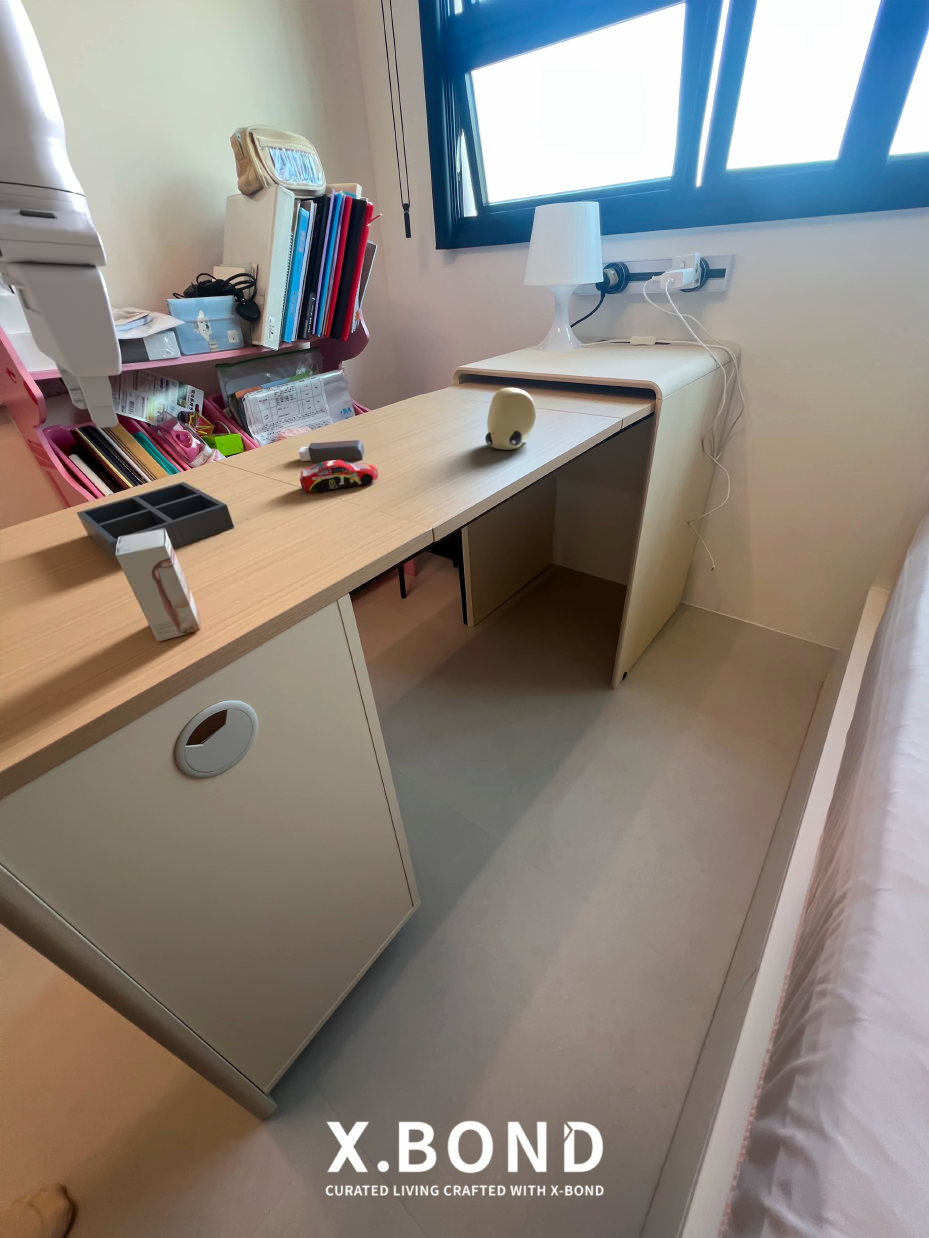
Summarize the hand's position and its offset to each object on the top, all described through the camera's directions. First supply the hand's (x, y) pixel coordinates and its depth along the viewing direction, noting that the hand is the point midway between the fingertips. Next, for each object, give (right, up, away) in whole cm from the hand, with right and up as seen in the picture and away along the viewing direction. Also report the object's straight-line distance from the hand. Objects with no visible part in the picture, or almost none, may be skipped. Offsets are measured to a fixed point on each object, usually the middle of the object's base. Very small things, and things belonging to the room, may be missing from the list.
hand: (95, 416), depth 49 cm
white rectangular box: (+5, -20, +6) cm, 22 cm away
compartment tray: (-9, -7, +26) cm, 28 cm away
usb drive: (+10, +12, +51) cm, 54 cm away
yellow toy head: (+45, +16, +54) cm, 72 cm away
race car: (+14, +3, +39) cm, 41 cm away
